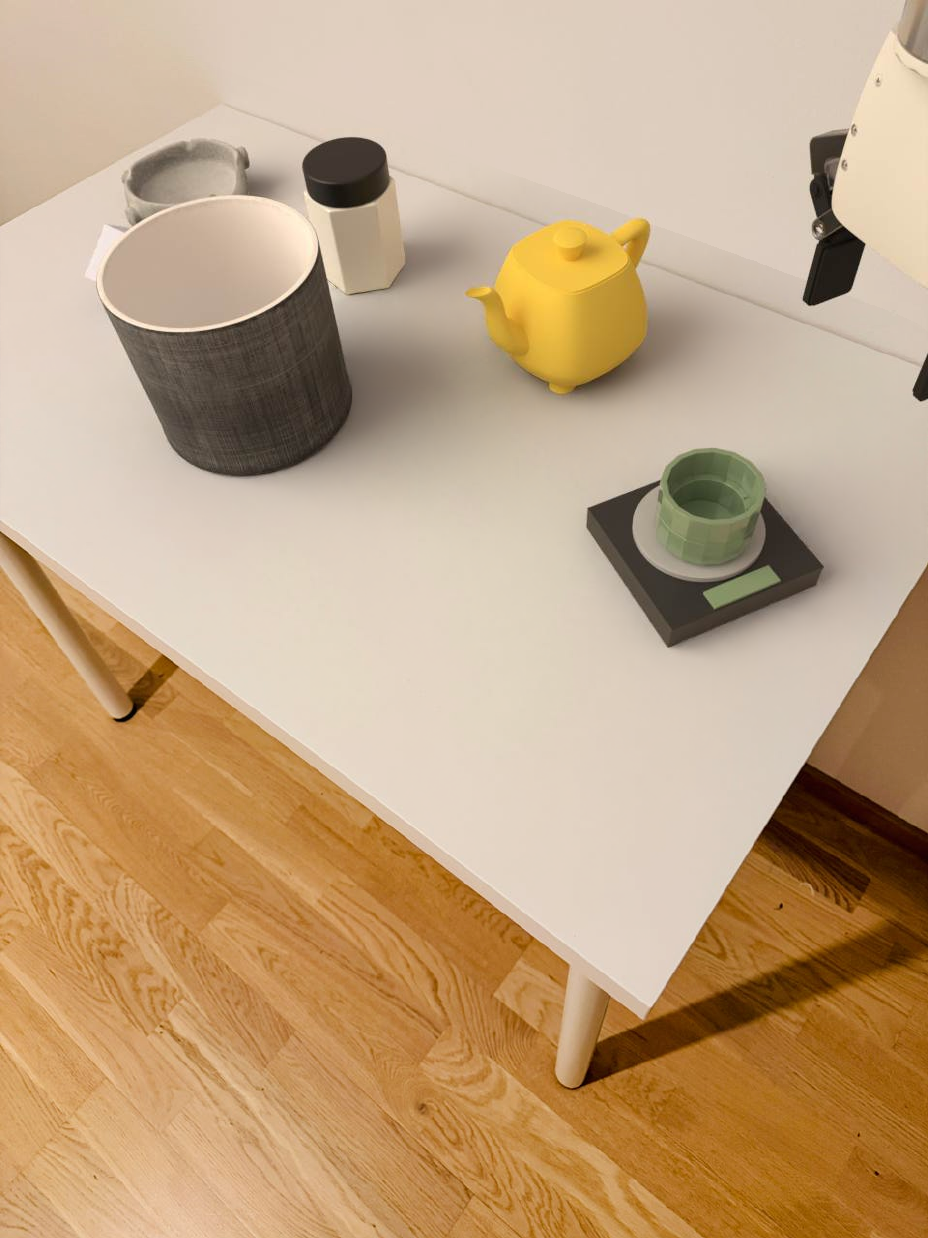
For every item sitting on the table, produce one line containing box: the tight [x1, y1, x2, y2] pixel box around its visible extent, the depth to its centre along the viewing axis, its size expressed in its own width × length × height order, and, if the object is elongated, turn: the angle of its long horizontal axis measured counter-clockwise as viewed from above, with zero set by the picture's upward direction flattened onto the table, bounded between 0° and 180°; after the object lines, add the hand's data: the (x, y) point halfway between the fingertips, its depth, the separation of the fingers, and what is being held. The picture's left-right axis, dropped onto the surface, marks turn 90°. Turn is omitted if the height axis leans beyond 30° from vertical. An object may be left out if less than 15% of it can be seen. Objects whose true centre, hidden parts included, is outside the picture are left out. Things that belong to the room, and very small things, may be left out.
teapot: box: [464, 217, 651, 395], centre depth 81 cm, size 13×20×12 cm
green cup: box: [654, 447, 767, 565], centre depth 67 cm, size 7×7×5 cm
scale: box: [585, 479, 825, 648], centre depth 71 cm, size 13×13×3 cm
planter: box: [95, 195, 353, 476], centre depth 78 cm, size 18×18×16 cm
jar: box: [301, 136, 407, 295], centre depth 91 cm, size 9×8×12 cm
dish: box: [121, 137, 251, 228], centre depth 102 cm, size 14×14×5 cm
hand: (878, 341), depth 53 cm, fingers open, 9 cm apart
